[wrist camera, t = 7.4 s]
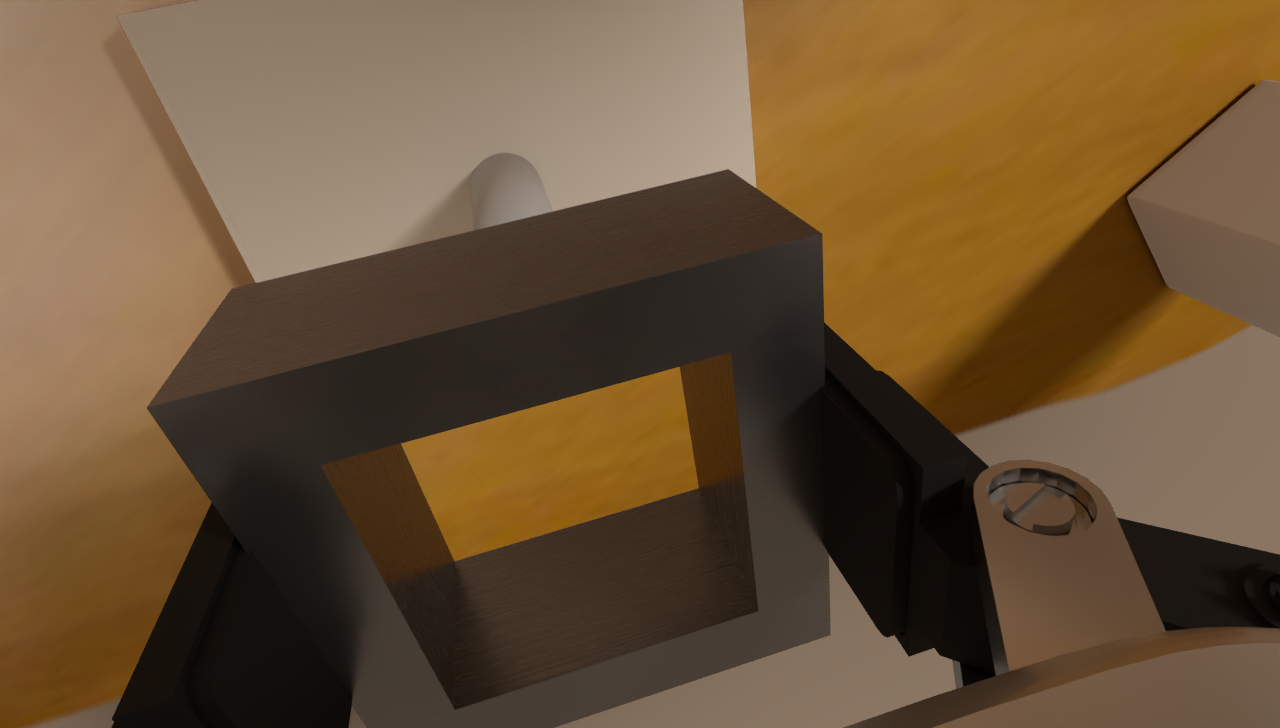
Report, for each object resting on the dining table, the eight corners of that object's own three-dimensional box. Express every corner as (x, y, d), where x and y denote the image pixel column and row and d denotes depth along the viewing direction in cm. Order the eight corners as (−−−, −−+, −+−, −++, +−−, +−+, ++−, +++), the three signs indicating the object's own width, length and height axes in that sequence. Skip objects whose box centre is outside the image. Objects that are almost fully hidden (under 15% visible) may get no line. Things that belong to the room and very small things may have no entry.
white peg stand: (133, 13, 19) (-94, 42, 11) (722, -100, 21) (880, -142, 13) (331, 401, 27) (277, 583, 19) (753, 290, 29) (867, 412, 21)
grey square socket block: (231, 288, 9) (147, 407, 7) (728, 169, 10) (822, 233, 7) (411, 622, 13) (402, 778, 10) (760, 514, 14) (830, 634, 11)
